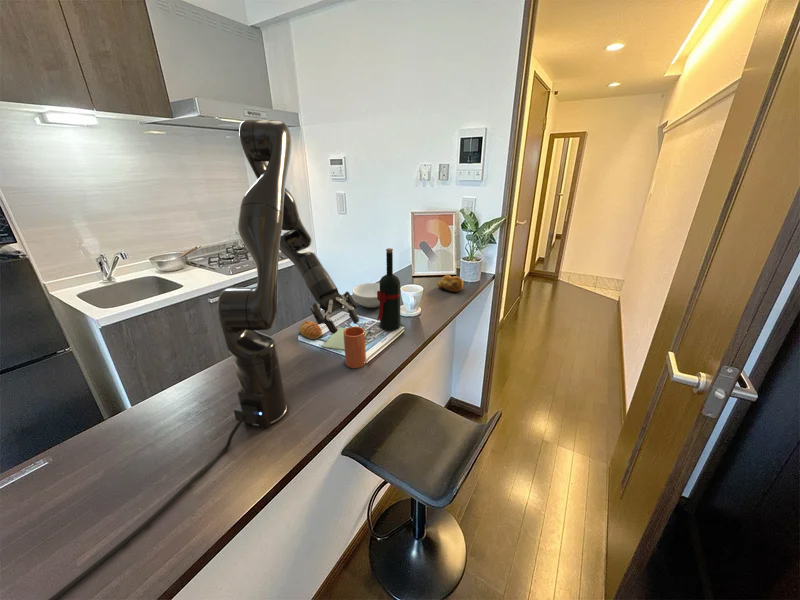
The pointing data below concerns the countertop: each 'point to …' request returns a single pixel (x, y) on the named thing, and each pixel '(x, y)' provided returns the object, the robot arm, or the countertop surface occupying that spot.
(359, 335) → the cup
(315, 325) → the pastry
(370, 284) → the cereal bowl
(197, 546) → the countertop surface
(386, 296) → the wine bottle
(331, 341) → the board
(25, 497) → the countertop surface
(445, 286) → the bread roll
